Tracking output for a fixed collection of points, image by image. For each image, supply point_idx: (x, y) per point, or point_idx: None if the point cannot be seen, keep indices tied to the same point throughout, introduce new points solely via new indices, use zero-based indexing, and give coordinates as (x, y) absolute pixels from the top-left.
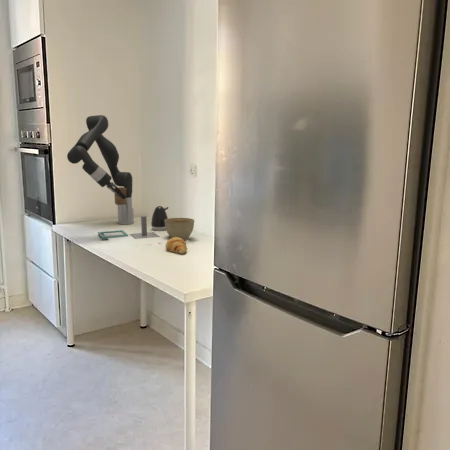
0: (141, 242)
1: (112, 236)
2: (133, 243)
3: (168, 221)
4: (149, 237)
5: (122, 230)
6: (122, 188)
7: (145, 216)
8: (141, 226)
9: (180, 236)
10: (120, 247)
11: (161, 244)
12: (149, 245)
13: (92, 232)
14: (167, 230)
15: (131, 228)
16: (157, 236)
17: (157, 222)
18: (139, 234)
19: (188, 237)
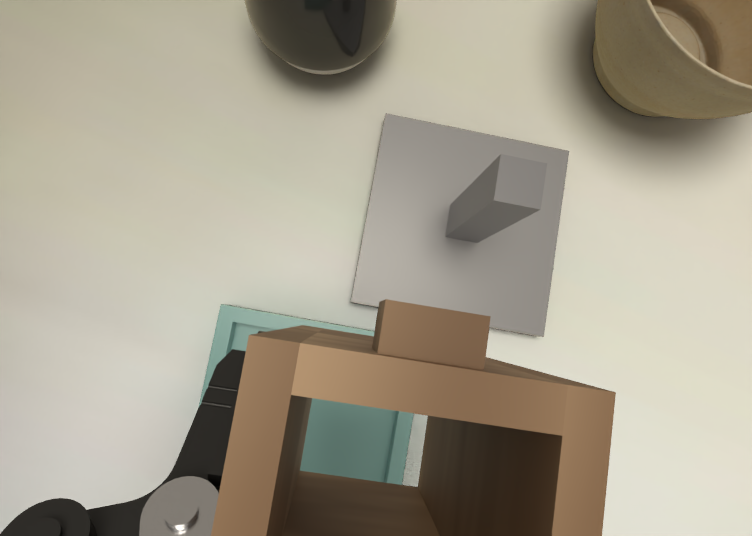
0: (597, 313)
1: (403, 466)
2: (597, 373)
3: (640, 20)
4: (554, 225)
5: (236, 311)
6: (598, 526)
7: (544, 172)
8: (468, 224)
9: (746, 74)
10: (662, 498)
11: (717, 228)
12: (704, 306)
13: (23, 509)
14: (709, 117)
15: (73, 161)
16: (554, 163)
17: (375, 25)
18: (415, 241)
19: (692, 9)
